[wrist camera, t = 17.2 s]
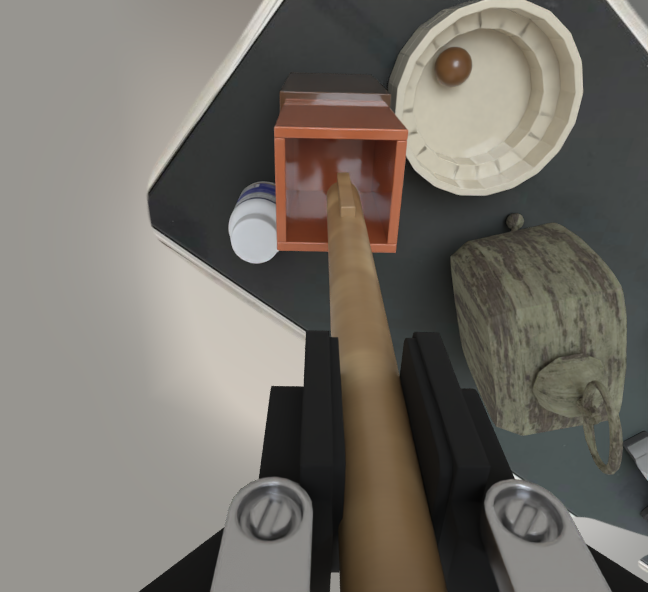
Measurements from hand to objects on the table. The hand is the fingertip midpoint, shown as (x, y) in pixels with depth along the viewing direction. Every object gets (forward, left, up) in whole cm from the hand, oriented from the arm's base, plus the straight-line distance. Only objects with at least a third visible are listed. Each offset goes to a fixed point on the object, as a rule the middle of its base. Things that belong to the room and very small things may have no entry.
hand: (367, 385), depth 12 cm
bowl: (-2, +12, -37) cm, 39 cm away
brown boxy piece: (0, 0, -37) cm, 37 cm away
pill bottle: (+8, -6, -37) cm, 39 cm away
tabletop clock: (+15, +17, -37) cm, 44 cm away
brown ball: (-5, +10, -35) cm, 37 cm away
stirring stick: (0, 0, -14) cm, 14 cm away
